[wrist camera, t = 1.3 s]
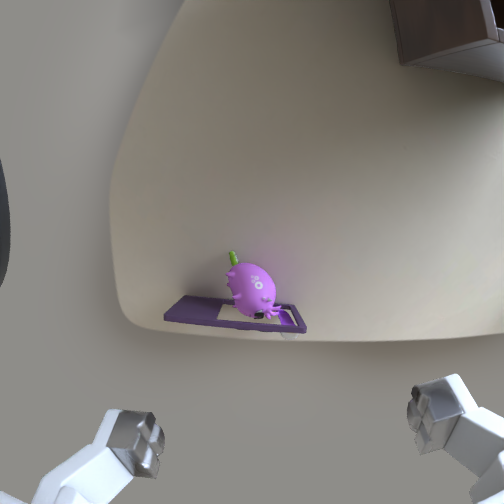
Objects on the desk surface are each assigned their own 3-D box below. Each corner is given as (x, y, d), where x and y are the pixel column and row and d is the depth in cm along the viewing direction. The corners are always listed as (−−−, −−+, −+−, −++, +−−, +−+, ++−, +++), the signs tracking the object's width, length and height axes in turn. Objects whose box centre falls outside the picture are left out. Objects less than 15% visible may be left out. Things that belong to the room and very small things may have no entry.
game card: (162, 331, 20) (305, 344, 20) (166, 249, 19) (315, 262, 19) (184, 308, 26) (292, 317, 26) (188, 245, 26) (299, 254, 26)
